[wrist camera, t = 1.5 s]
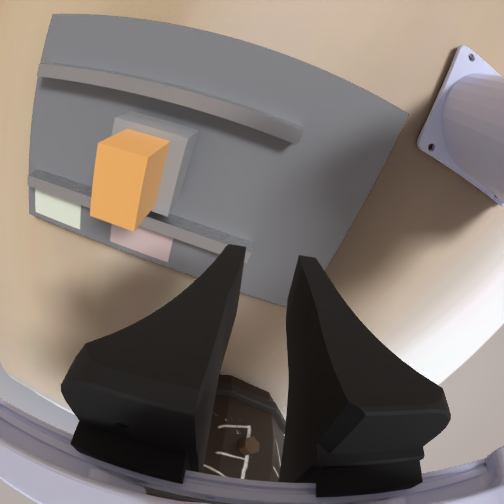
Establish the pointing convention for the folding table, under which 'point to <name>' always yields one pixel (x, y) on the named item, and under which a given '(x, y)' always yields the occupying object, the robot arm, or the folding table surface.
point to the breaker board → (208, 144)
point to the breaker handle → (140, 169)
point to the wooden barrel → (240, 436)
